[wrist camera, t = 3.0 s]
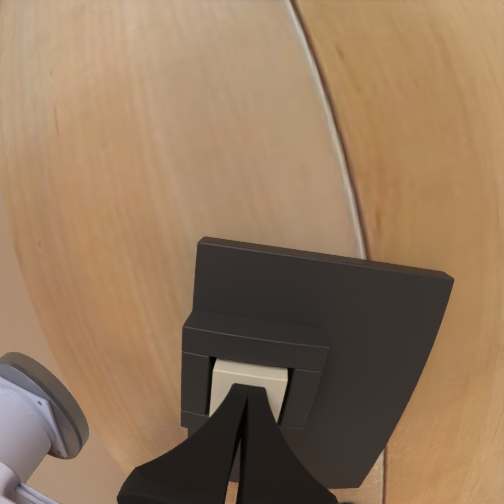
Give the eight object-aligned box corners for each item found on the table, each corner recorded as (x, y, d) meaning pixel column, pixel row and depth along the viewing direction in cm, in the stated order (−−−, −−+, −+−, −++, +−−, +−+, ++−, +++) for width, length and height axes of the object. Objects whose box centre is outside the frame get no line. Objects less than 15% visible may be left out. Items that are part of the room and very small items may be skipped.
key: (216, 393, 15) (209, 420, 13) (221, 344, 14) (212, 369, 12) (276, 402, 14) (275, 430, 13) (287, 353, 14) (288, 380, 12)
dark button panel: (191, 461, 18) (181, 493, 15) (203, 236, 14) (185, 251, 11) (356, 476, 18) (362, 506, 15) (444, 271, 14) (474, 291, 11)
